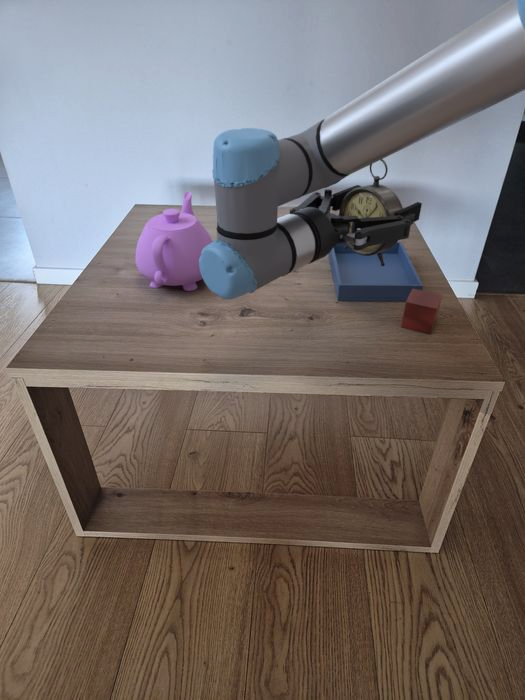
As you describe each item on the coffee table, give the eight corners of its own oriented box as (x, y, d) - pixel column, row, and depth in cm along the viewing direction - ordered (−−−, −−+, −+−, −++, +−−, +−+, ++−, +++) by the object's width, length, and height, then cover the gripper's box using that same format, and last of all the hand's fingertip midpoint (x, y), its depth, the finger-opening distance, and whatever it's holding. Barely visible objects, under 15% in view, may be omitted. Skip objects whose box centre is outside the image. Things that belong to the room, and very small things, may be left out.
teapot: (161, 249, 110) (153, 187, 102) (230, 254, 108) (227, 191, 100) (122, 299, 92) (108, 229, 84) (202, 306, 90) (196, 235, 82)
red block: (436, 319, 86) (442, 294, 83) (430, 334, 83) (436, 308, 80) (407, 313, 88) (412, 288, 85) (400, 327, 85) (405, 301, 82)
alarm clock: (333, 249, 87) (342, 153, 78) (355, 241, 90) (366, 147, 81) (381, 272, 80) (396, 169, 71) (402, 262, 83) (421, 163, 74)
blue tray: (420, 301, 91) (423, 285, 89) (337, 300, 92) (339, 285, 90) (399, 255, 107) (401, 241, 105) (328, 255, 107) (329, 241, 105)
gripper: (242, 240, 79) (330, 205, 92) (362, 292, 66) (446, 243, 78) (241, 193, 75) (333, 164, 87) (369, 239, 61) (457, 196, 73)
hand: (387, 201), depth 83 cm, fingers closed on alarm clock, 11 cm apart
